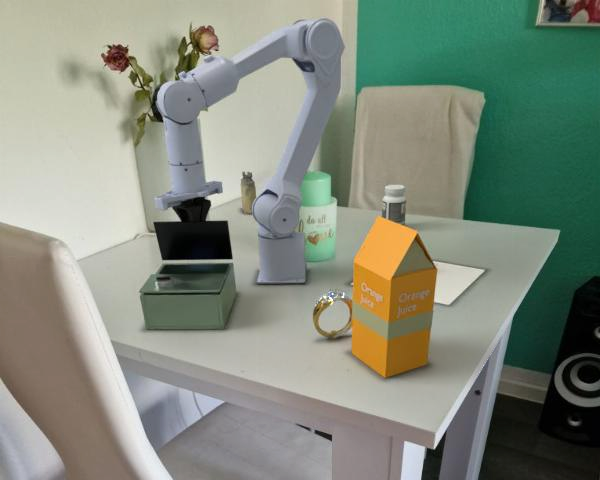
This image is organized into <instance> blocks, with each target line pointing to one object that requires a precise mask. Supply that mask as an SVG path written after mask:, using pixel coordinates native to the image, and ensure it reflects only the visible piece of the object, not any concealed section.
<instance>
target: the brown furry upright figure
mask: <svg viewBox="0 0 600 480" xmlns="http://www.w3.org/2000/svg"><path fill="white" fill-rule="evenodd" d="M241 175H242V178H241V179H240V194H241V206H242V212H244V213H245V214H249V215H250V214H252V205H253V202H254V200H255V199H256V197H257V190H256V189H257V188H256V185H255V183H256V182H255V181H254V179H253V172H252V171H251V172H250V171H247V172H246V171H242V172H241Z"/></svg>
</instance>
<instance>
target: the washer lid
mask: <svg viewBox="0 0 600 480" xmlns="http://www.w3.org/2000/svg"><path fill="white" fill-rule="evenodd" d="M153 228H154V232H155V237H156V240H157V241H156V242H157V245H158V248H159V252H160V257H161V261H214V260H217V261H220V260H223V261H225V260H233V258H234V256H233V250H232V243H231V242H232V241H231V234H230V228H229V220H228V219H227V220H206V221H181V220H178V221H177V220H171V221H170V220H169V221H167V220H166V221H153Z"/></svg>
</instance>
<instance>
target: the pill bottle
mask: <svg viewBox="0 0 600 480" xmlns="http://www.w3.org/2000/svg"><path fill="white" fill-rule="evenodd" d="M405 192H406V186H405V185H403V184H388V185H386V186H385V187H384V193H385V195H384V196H383V197H382V207H381V217H382V218H385V219H388V220H390V221H393V222H395V223H398V224H401V225H403V226H405V224H406V210H407V198H406V196H405V195H404V194H405Z"/></svg>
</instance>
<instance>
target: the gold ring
mask: <svg viewBox="0 0 600 480" xmlns="http://www.w3.org/2000/svg"><path fill="white" fill-rule="evenodd" d="M346 293H347V291H346V290H344V291H343V292H342V289H339V290H338V288H335V290H333V288H330V289H329V291H327V292H325V293H324V294H323V295H322V296H320V298H319V299H318V300H317V301H316V302H315V305H314V308H313V311H312V317H311V318H312V319H311V320H312V323H313V326H314V328H315V330H316V331H317V333H318V334H320V335H321V336H323V337H325V338H330V339H331V338H332V339H333V340H336V339H338V337H342V336H344V335H345V334H347V333H348V332H349V331H350V330H352V301H353V299H351V298H350V297H348V296H346ZM326 300H327V301H326ZM338 301H341V302H343V303H344V304H346V305H347V307H348V309H349V318H348V321H347V323H346V324H345V326H343V327H342V328H341V329H339V330H331V331H330V332H329V331H325V330H323V328H321V327H320V325H319V320H320V316H321V315H322V313H323V312H324V311H325V310H326V309H327V308H329V307H330V306H332V304H333V303H334V302H338Z"/></svg>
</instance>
